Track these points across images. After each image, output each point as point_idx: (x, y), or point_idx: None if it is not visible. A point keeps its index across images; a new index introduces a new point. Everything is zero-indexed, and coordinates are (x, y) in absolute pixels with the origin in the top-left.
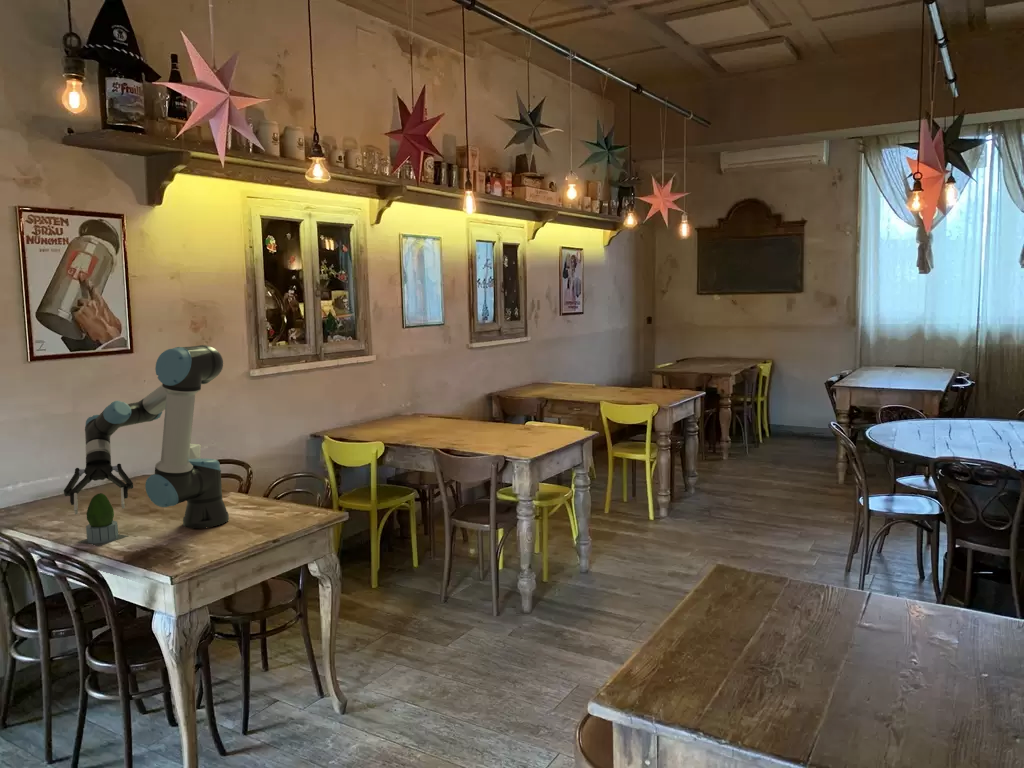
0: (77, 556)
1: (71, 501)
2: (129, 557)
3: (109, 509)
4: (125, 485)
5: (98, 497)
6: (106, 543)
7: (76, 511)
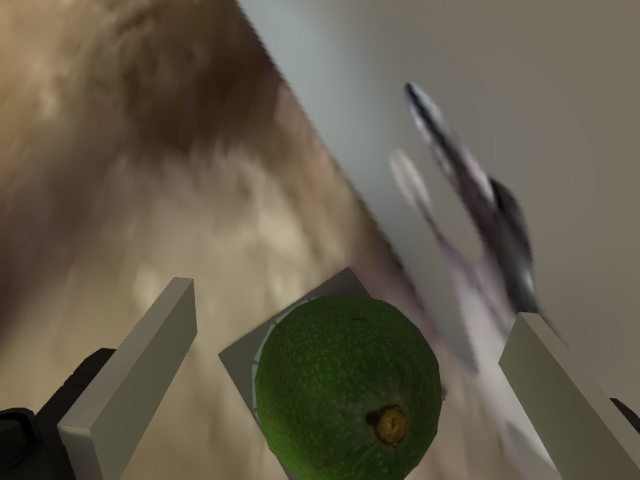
0: (423, 202)
1: (621, 409)
2: (261, 95)
3: (284, 322)
4: (5, 426)
5: (369, 337)
6: (319, 289)
7: (516, 329)
